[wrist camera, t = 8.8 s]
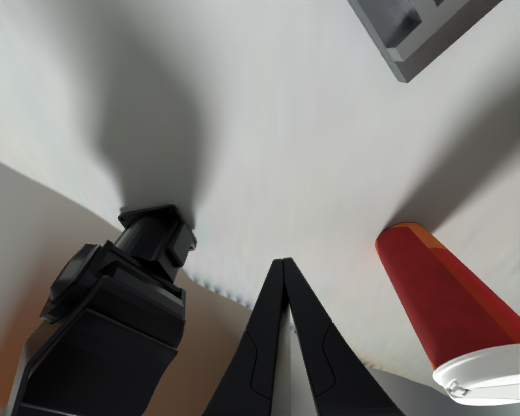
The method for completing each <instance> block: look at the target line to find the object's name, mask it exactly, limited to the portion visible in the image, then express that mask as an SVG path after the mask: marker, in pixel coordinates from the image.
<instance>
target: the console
mask: <svg viewBox="0 0 520 416" xmlns="http://www.w3.org/2000/svg"><path fill="white" fill-rule="evenodd" d="M501 1H502V0H348V2H349V3H350V5H351V7H352V8H353V10H354V11H355V13H356V15H357V16H358V18H359V19H360V21H361V22H362V24H363V26H364V27H365V29H366V30H367V32H368V34H369V35H370V37H371V38H372V40H373V42H374V43H375V45H376V46H377V48H378V49H379V51H380V53H381V54H382V56H383V57H384V59H385V61H386V62H387V64H388V65H389V67H390V69H391V70H392V72H393V73H394V75H395V76H396V78H397V80H398V81H399V82H404V83H408V82H409V81H411V80H412V79H413V78H414V77H415V76H416V75H417V74H419V73H420V72H421V71H422V70H423V69H424V68H425V67H427V66H428V65H429V64H430V63H431V62H432V61H433V60H435V59H436V58H437V57H438V56H439V55H440V54H441V53H443V52H444V51H445V50H446V49H447V48H448V47H449V46H451V45H452V44H453V43H454V42H455V41H456V40H457V39H459V38H460V37H461V36H462V35H463V34H464V33H465V32H467V31H468V30H469V29H470V28H471V27H472V26H473V25H475V24H476V23H477V22H478V21H479V20H480V19H481V18H483V17H484V16H485V15H486V14H487V13H488V12H489V11H491V10H492V9H493V8H494V7H495V6H496V5H497V4H498V3H500V2H501Z"/></svg>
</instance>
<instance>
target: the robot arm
mask: <svg viewBox="0 0 520 416" xmlns="http://www.w3.org/2000/svg"><path fill="white" fill-rule="evenodd" d="M170 209H172V210H173V211H172V210H170ZM124 218H125V219H124ZM118 220H119V221H120V222H121V224H122V225H123V226H124V228H125V230H124V231H123V232H122V234H121V235H120V236H119V238H118V239H117V240H116V242H115V243H114V244H113V243H112V242H110V241H109V240H106V241H105V242H103V243H102V244H100V245H97V244H96V245H92V244H85V245H84V246H82V247H81V248H80V249H79V250H78V252H77V253H76V254H75V255H74V256H73V257H72V258H71V259H70V260H69V261H68V263H67V264H66V265H65V266H64V268H63V269H62V271H61V272H60V274H59V275H58V276H57V278H56V279H55V281H54V282H53V284H52V285H51V287H50V296H49V298H48V299H47V302H46V303H45V305H44V307H43V309H42V311H41V313H40V316H39V318H41V319H43V320H44V321H43V322H42V323H41V324H40V325H39V326H38V328H37V329H36V330H35V331H34V332H33V333H32V334H31V336H30V337H29V338H28V339H27V341H26V342H25V344H24V347H23V351H22V355H21V359H20V362H19V366H18V369H17V373H16V377H15V381H14V384H13V388H12V391H11V395H10V399H9V402H8V404H7V406H6V407H5V408H4V410H3V411H2V412H1V413H0V416H141V415H142V414H143V413H144V411H145V410H146V408H147V406H148V404H149V402H150V399H151V397H152V395H153V393H154V390H155V388H156V386H157V384H158V382H159V380H160V378H161V376H162V375H163V373H164V371H165V370H166V368H167V367H168V365H169V364H170V363H171V361H172V360H173V359H174V358H175V356H176V355H177V353H178V350H177V349H176V348H177V347H178V345H179V343H180V341H181V338H182V336H183V332H184V327H185V299H186V291H185V290H184V289H182V288H179V287H177V286H176V285H174V284H173V283H174V280H175V278H176V275H177V272H178V270H179V268H180V267H183V265H184V263H185V260H186V258H187V255H188V252H189V251H193V250H195V248H196V244H195V242H194V240H193V236H192V234H191V233H190V231H189V229H188V227H187V225H186V223H185V222H184V221H183V219H182V217H181V216H180V214H179V212H178V210H177V208H176V207H175V206H174V205H166V206H161V207H155V208H149V209H144V210H138V211H132V212H127V213H122V214H120V215H119V216H118ZM191 246H192V247H191ZM289 304H290V305H289ZM290 309H291V313H292V317H293V321H294V325H295V329H296V333H297V337H298V340H299V345H300V349H301V352H302V356H303V360H304V364H305V368H306V372H307V376H308V380H309V384H310V388H311V392H312V396H313V400H314V404H315V408H316V412H317V416H406V415H405V414H404V413H403V412H402V411H401V410H400V409H399V408H398V407H397V406H396V404H395V403H393V401H392V400H391V399H390V398H389V396H388V395H387V394H386V393H385V391H384V390H383V389H382V388H381V386H380V385H379V384H378V383H377V381H376V380H375V379H374V378H373V376H372V375H371V374H370V373H369V371H368V370H367V369H366V368H365V366H364V365H363V364H362V363H361V361H360V360H359V359H358V357H357V356H356V355H355V353H354V352H353V351H352V349H351V348H350V347H349V346H348V344H347V343H346V341H345V340H344V338H343V337H342V335H341V334H340V332H339V331H338V329H337V328H336V326H335V325H334V323H332V320H331V318H330V317H329V315H328V314H327V312H326V311H325V309H324V307H323V306H322V304H321V303H320V301H319V300H318V298H317V296H316V295H315V293H314V292H313V290H312V289H311V287H310V285H309V284H308V282H307V281H306V279H305V278H304V276H303V274H302V273H301V271H300V270H299V268H298V267H297V265H296V263H295V262H294V260H293V259H292V258H291V257H289V258H283V260H282V259H274V260H273V262H272V264H271V267H270V269H269V272H268V274H267V277H266V279H265V282H264V284H263V287H262V289H261V291H260V294H259V296H258V299H257V301H256V304H255V306H254V309H253V311H252V314H251V316H250V319H249V322H248V324H247V326H246V329H245V330H246V331H244V333H243V336H242V338H241V341H240V343H239V345H238V348H237V350H236V352H235V354H234V356H233V359H232V361H231V362H230V364H229V366H228V369H227V370H226V372H225V374H224V376H223V378H222V380H221V382H220V383H219V385H218V387H217V389H216V391H215V393H214V395H213V397H212V398H211V400H210V402H209V404H208V406H207V408H206V409H205V411H204V413H203V414H202V416H291V360H290V359H291V358H290Z"/></svg>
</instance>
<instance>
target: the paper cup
mask: <svg viewBox="0 0 520 416" xmlns="http://www.w3.org/2000/svg"><path fill="white" fill-rule="evenodd" d="M375 247H376V251H377V253H378V255H379V257H380V260H381V262H382V264H383V266H384V268H385V270H386V272H387V274H388V276H389V279H390V281H391V283H392V285H393V287H394V289H395V291H396V293H397V295H398V297H399V299H400V301H401V303H402V305H403V307H404V309H405V311H406V314H407V316H408V318H409V320H410V322H411V324H412V326H413V328H414V330H415V332H416V334H417V336H418V338H419V340H420V342H421V344H422V346H423V348H424V350H425V352H426V354H427V356H428V358H429V360H430V362H431V364H432V366H433V368H434V373H433V378H434V380H435V381H436V382H437V383H438V384H440V385H442V386H443V387H444V388H445V390H446V391H447V393H448V394H449V396H450V397H451V398H452V399H453V400H454V401H456V402H458V403H461V404H466V405H501V404H510V403H518V402H520V316H519V315H518V314H516V313H515V312H514V311H513V310H512V309H511V308H510V307H509V306H508V305H507V304H506V303H505V302H504V301H503V300H502V299H500V298H499V297H498V296H497V295H496V294H495V293H494V292H493V291H492V290H491V289H490V288H489V287H488V286H487V285H486V284H484V283H483V282H482V281H481V280H480V279H479V278H478V277H477V276H476V275H475V274H474V273H473V272H472V271H471V270H469V269H468V268H467V267H466V266H465V265H464V264H463V263H462V262H461V261H460V260H459V259H458V258H457V257H456V256H454V255H453V254H452V253H451V252H450V251H449V250H448V249H447V248H446V247H445V246H444V245H443V244H441V243H440V242H439V241H438V240H437V239H436V238H435V237H434V236H433V235H432V234H430V233H429V232H428V231H427V230H426V229H425V228H423V227H422V226H421V225H419V224H417V223H412V222H405V223H400V224H396V225H394V226H391V227H389V228H388V229H386V230H385V231H383V232H382V233H381V234H380V235H379V236H378V238H377V240H376V243H375Z"/></svg>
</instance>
